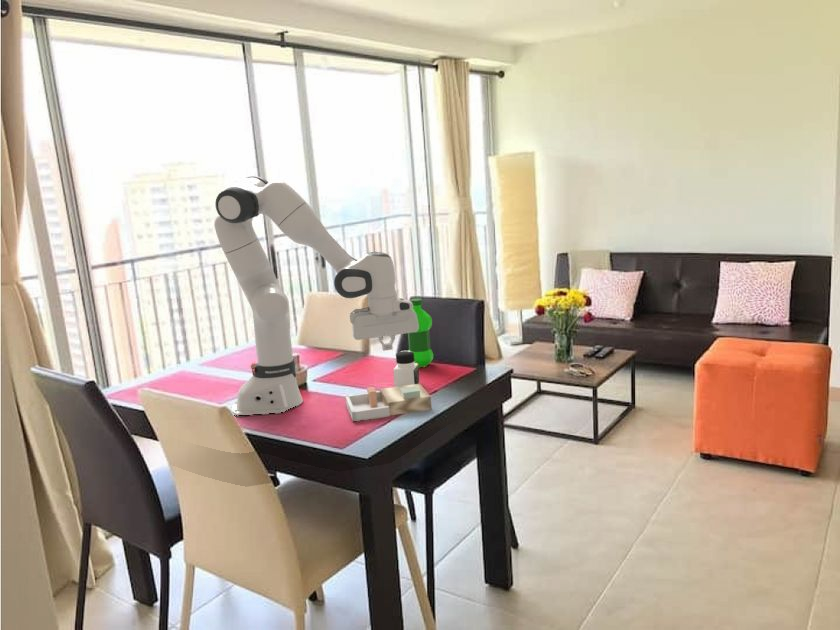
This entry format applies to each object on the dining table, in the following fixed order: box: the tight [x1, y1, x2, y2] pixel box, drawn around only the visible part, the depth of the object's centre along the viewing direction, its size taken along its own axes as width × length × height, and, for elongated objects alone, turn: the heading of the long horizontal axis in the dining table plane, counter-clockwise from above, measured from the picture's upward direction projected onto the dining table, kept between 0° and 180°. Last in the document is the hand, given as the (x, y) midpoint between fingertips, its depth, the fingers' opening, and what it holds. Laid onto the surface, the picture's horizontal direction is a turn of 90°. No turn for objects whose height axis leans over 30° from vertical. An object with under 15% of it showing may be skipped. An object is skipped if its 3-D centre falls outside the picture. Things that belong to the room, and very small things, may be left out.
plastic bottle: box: [407, 298, 434, 368], centre depth 245 cm, size 10×10×25 cm
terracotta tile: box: [366, 386, 377, 408], centre depth 207 cm, size 5×5×2 cm
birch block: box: [379, 383, 432, 416], centre depth 205 cm, size 13×14×4 cm
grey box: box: [344, 390, 391, 422], centre depth 203 cm, size 11×16×3 cm
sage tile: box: [400, 386, 420, 399], centre depth 202 cm, size 5×5×2 cm
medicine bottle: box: [392, 350, 420, 387], centre depth 223 cm, size 7×7×12 cm
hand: (387, 349), depth 203 cm, fingers closed
